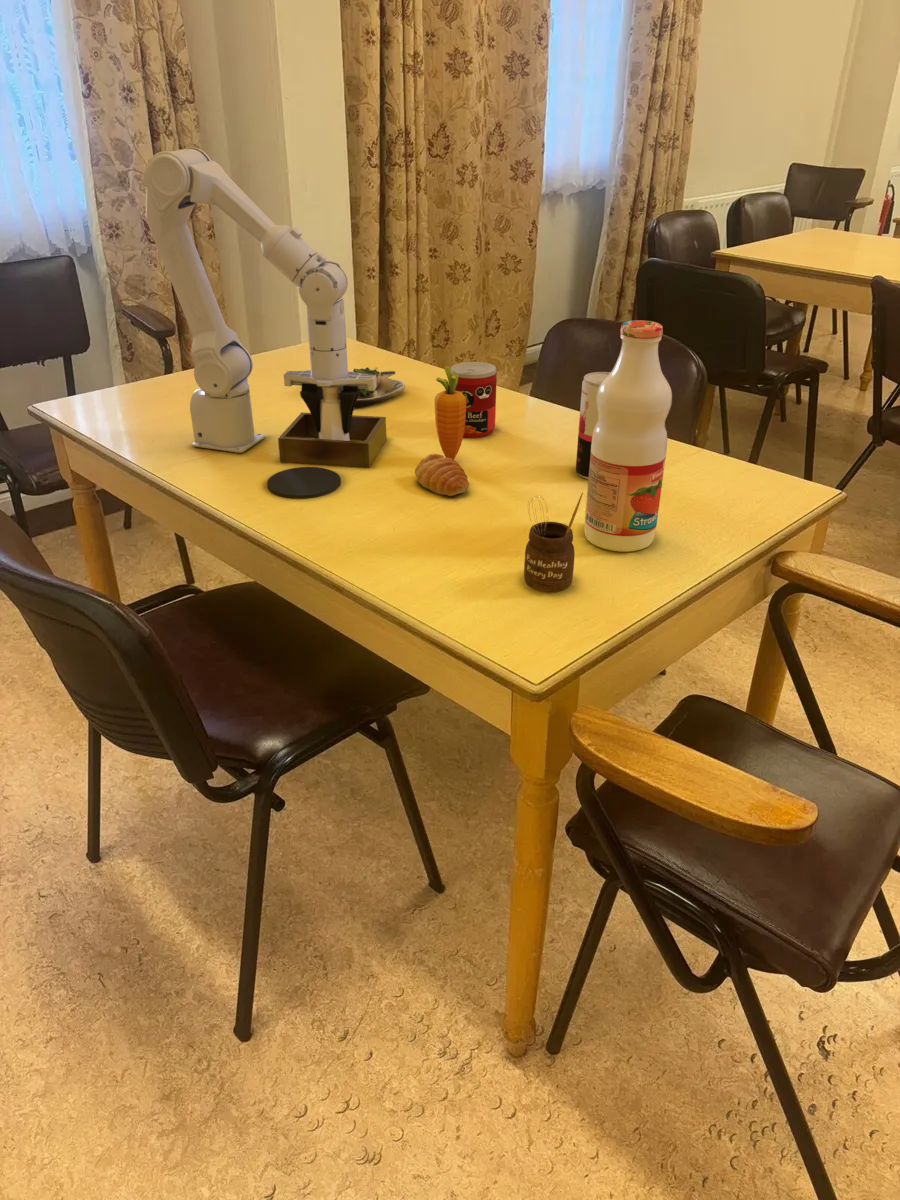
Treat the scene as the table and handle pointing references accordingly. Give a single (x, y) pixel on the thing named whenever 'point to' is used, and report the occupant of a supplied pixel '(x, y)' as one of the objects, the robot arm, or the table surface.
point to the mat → (304, 482)
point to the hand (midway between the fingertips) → (333, 430)
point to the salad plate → (378, 388)
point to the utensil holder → (550, 555)
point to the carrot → (450, 415)
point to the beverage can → (588, 420)
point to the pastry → (441, 475)
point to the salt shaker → (331, 415)
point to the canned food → (477, 396)
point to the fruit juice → (629, 444)
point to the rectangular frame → (333, 442)
